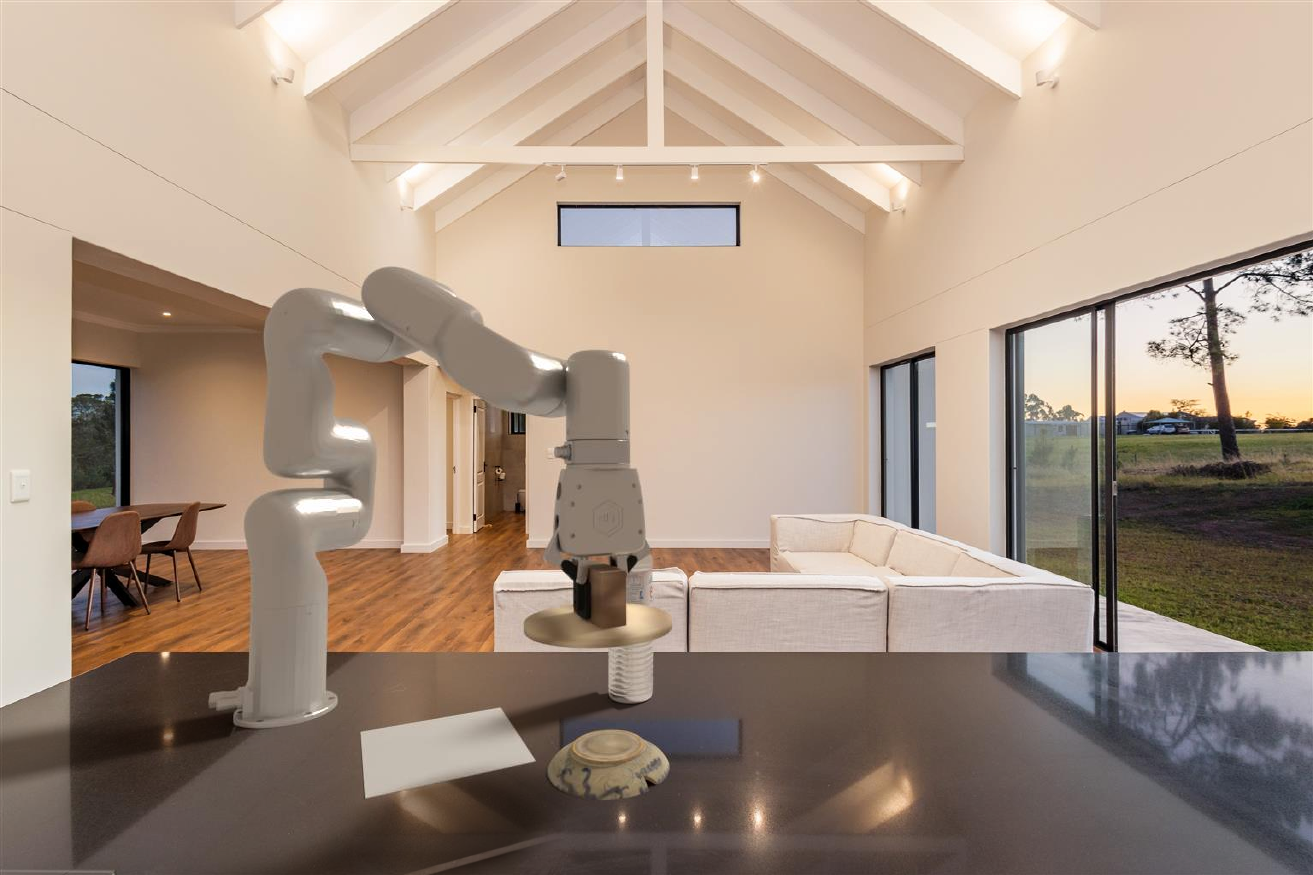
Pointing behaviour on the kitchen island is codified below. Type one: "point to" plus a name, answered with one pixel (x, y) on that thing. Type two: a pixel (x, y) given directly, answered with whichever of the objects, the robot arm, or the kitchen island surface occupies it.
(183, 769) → the kitchen island surface
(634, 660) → the water bottle
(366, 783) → the mat
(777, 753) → the kitchen island surface
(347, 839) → the kitchen island surface
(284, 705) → the robot arm
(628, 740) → the decorative bowl
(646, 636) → the lid
